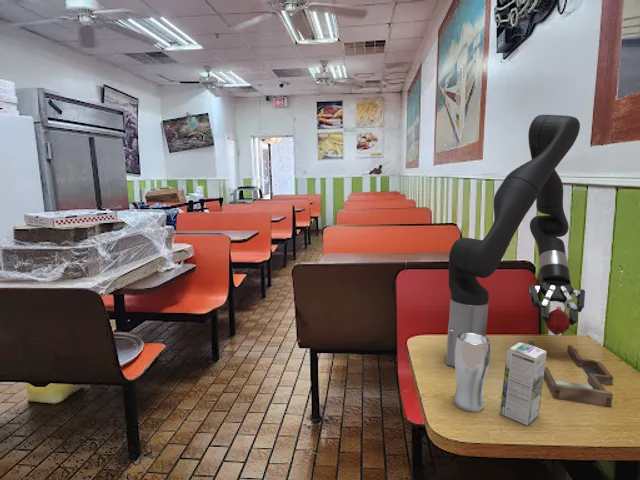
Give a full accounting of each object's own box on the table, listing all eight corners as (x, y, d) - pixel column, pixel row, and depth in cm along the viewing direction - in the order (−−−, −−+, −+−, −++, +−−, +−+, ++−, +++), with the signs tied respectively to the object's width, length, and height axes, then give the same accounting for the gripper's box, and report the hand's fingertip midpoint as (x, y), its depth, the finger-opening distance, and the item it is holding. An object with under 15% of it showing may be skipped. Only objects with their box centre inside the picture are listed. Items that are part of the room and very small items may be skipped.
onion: (571, 340, 108) (575, 310, 107) (548, 337, 109) (551, 309, 108) (563, 332, 114) (566, 304, 112) (541, 330, 115) (544, 302, 113)
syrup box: (511, 404, 88) (517, 340, 86) (540, 416, 84) (547, 349, 82) (499, 414, 84) (505, 348, 82) (529, 427, 80) (536, 357, 78)
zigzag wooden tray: (534, 395, 92) (535, 382, 92) (513, 344, 121) (514, 335, 120) (632, 410, 87) (634, 397, 86) (587, 354, 115) (588, 344, 115)
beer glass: (447, 395, 91) (451, 331, 89) (478, 396, 91) (484, 332, 89) (456, 412, 85) (461, 344, 82) (490, 413, 84) (496, 345, 82)
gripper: (529, 260, 118) (533, 312, 108) (586, 264, 114) (595, 319, 104) (524, 274, 123) (527, 324, 114) (577, 279, 119) (585, 332, 110)
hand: (559, 321), depth 109 cm, fingers closed on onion, 5 cm apart
